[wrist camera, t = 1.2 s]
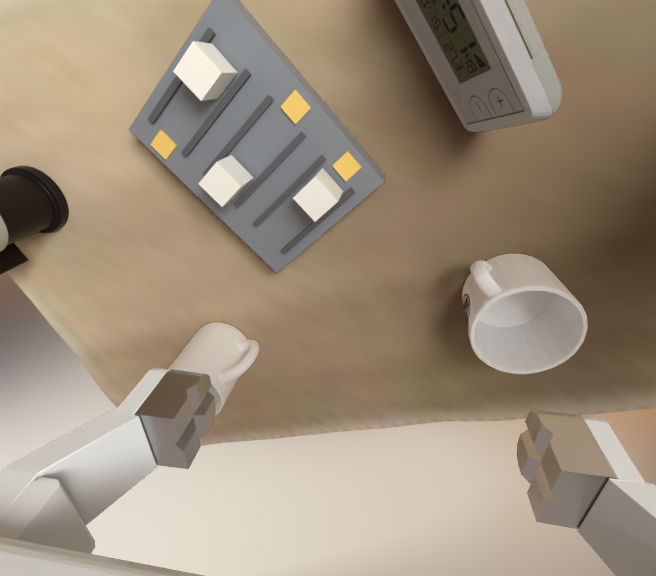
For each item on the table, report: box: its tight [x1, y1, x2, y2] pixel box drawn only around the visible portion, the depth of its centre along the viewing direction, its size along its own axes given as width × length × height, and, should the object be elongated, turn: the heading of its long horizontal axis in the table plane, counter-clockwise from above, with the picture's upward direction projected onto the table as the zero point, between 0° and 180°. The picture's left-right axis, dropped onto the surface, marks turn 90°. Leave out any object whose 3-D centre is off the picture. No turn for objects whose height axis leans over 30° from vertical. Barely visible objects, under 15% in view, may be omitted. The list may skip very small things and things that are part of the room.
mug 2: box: [462, 254, 588, 374], centre depth 39 cm, size 13×10×8 cm
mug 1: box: [168, 322, 259, 416], centre depth 49 cm, size 12×8×10 cm
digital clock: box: [395, 0, 562, 132], centre depth 27 cm, size 16×9×11 cm, turn 26°
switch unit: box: [129, 0, 385, 273], centre depth 38 cm, size 16×21×4 cm
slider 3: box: [293, 168, 343, 222], centre depth 36 cm, size 3×3×4 cm
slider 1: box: [173, 41, 238, 101], centre depth 32 cm, size 3×3×4 cm
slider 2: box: [198, 155, 253, 207], centre depth 36 cm, size 3×3×4 cm
